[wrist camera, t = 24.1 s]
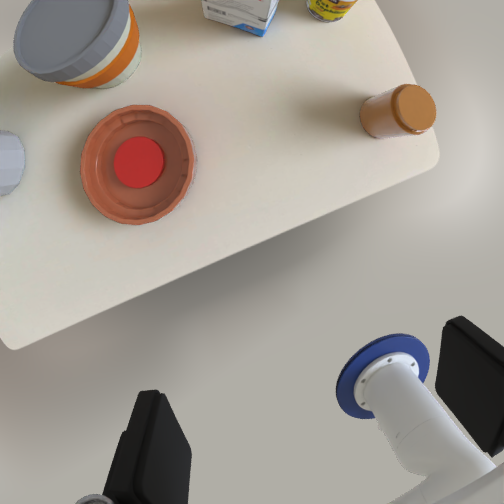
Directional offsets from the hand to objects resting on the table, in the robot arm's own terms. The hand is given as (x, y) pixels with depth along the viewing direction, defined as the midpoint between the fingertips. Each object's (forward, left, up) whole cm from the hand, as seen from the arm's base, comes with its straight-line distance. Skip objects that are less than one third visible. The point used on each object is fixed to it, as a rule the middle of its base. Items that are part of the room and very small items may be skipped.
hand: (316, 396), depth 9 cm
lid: (+10, +12, -32) cm, 35 cm away
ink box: (+28, -4, -34) cm, 44 cm away
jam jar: (+11, -20, -33) cm, 40 cm away
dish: (+10, +12, -33) cm, 37 cm away
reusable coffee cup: (+26, +14, -34) cm, 45 cm away
